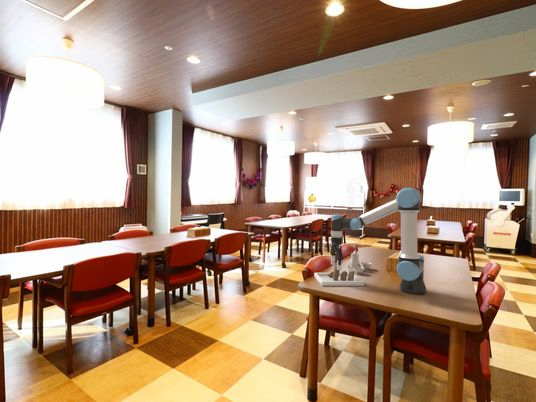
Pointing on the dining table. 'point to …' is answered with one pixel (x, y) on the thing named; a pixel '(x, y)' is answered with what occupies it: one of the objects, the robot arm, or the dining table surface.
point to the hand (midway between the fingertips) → (335, 267)
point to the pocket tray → (328, 280)
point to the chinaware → (357, 264)
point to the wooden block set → (343, 274)
